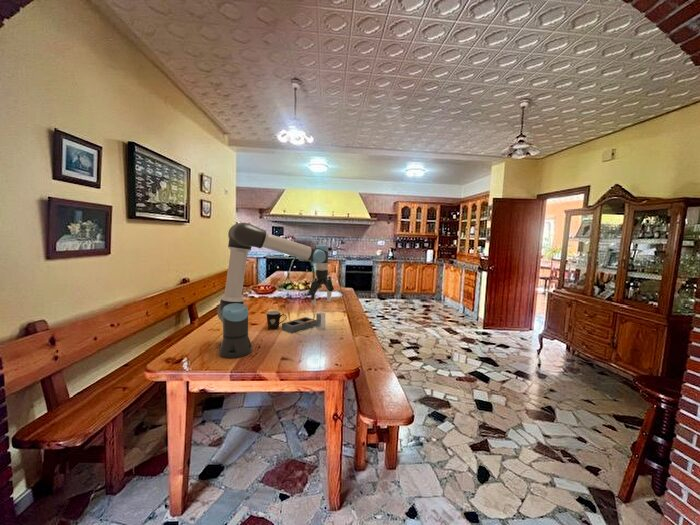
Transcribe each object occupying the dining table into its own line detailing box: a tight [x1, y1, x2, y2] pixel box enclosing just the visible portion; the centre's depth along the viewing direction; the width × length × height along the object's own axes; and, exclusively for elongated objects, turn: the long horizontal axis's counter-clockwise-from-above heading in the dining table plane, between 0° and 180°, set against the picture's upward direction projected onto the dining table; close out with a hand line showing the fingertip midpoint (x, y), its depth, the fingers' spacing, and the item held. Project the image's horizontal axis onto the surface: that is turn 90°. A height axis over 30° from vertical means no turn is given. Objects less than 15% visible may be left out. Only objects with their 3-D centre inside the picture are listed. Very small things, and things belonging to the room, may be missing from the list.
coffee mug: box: [266, 310, 287, 331], centre depth 183 cm, size 12×9×10 cm
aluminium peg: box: [315, 312, 326, 331], centre depth 185 cm, size 4×4×10 cm
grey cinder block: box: [281, 316, 316, 334], centre depth 186 cm, size 20×10×4 cm, turn 141°
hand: (321, 303), depth 184 cm, fingers open, 13 cm apart
